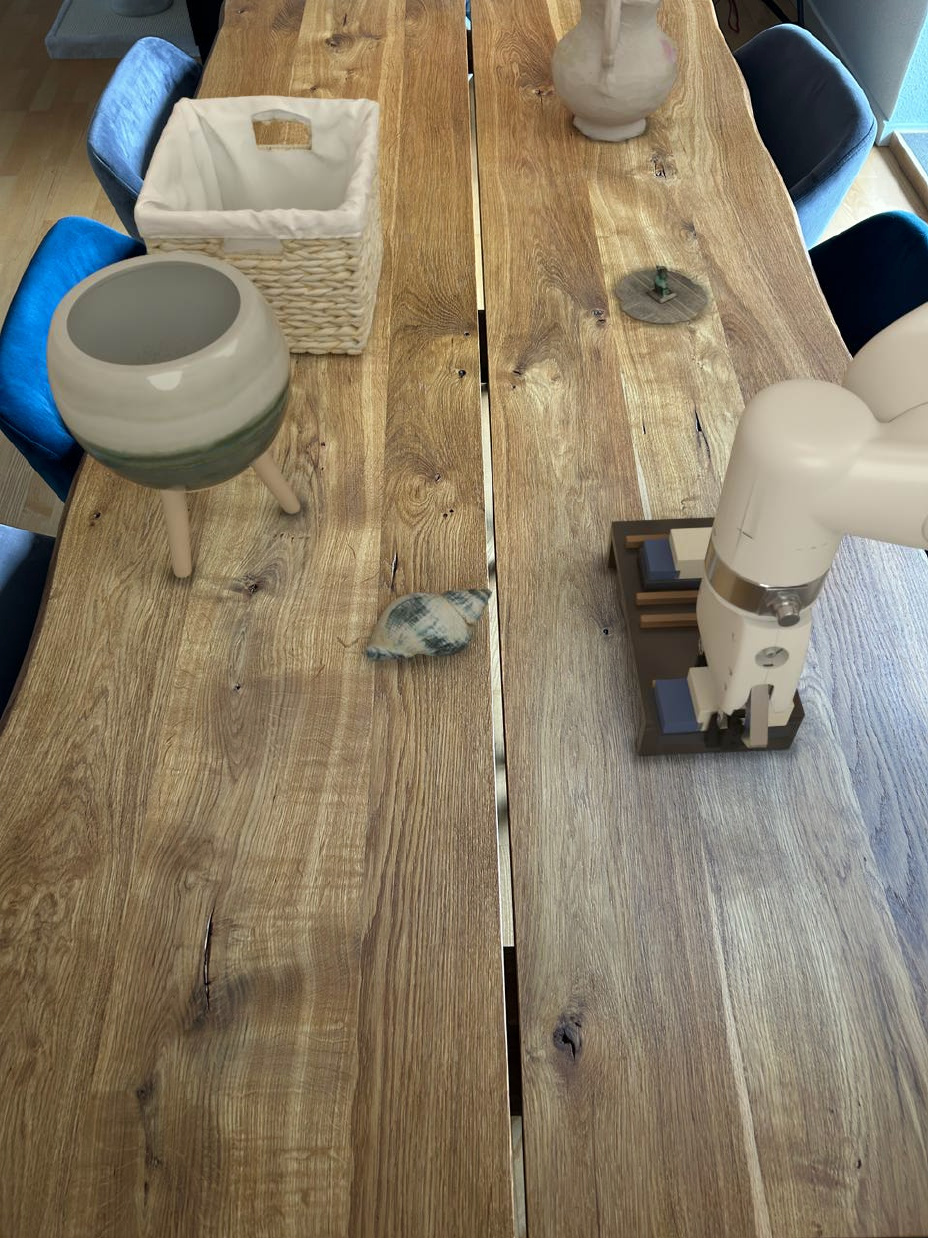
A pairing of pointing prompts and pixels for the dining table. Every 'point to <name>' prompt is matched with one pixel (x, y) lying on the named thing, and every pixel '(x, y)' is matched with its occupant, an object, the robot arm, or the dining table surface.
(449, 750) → the dining table surface
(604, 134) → the ceramic pitcher
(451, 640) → the seashell
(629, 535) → the shoe rack
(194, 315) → the planter
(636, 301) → the sculpture
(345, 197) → the basket
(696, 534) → the two-tone stepped block
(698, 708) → the blue cream block
